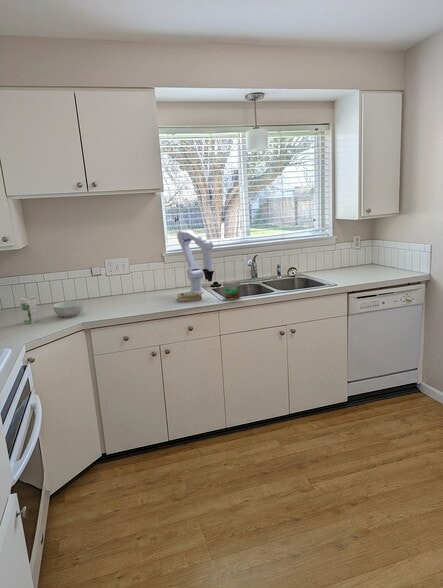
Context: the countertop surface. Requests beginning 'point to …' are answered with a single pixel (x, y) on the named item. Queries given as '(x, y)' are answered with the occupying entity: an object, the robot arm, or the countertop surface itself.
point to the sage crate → (189, 293)
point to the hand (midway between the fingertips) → (208, 280)
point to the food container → (232, 290)
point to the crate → (189, 297)
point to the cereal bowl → (68, 308)
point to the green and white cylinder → (29, 309)
